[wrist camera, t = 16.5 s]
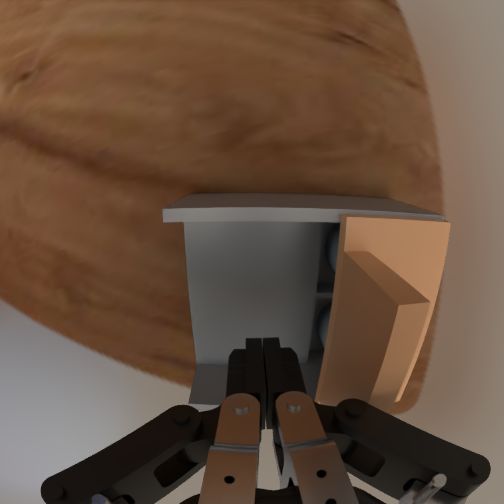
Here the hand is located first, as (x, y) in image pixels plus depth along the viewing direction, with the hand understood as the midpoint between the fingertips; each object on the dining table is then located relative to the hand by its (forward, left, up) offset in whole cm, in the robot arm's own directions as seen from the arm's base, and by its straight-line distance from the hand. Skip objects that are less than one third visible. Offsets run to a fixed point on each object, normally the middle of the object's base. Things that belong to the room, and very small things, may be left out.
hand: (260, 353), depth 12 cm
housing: (-3, +1, -8) cm, 9 cm away
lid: (-6, +2, -2) cm, 7 cm away
